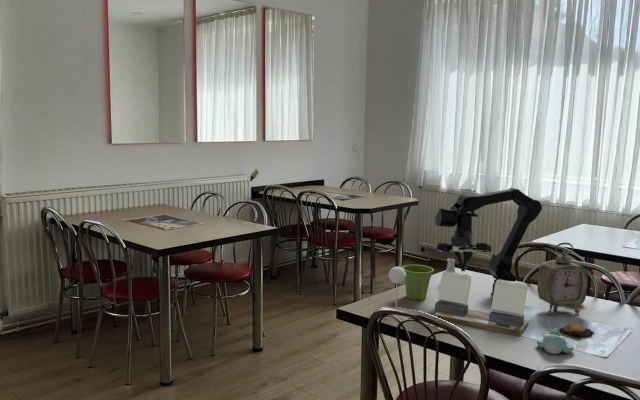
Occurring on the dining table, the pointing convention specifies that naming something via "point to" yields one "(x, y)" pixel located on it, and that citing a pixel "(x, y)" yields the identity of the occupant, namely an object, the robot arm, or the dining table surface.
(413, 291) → the plant pot
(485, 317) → the switch board
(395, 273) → the lollipop
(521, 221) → the robot arm
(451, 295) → the toggle
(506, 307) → the toggle
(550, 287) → the tabletop clock
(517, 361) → the dining table surface
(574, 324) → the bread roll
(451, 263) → the flask
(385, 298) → the dining table surface
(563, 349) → the stuffed animal
